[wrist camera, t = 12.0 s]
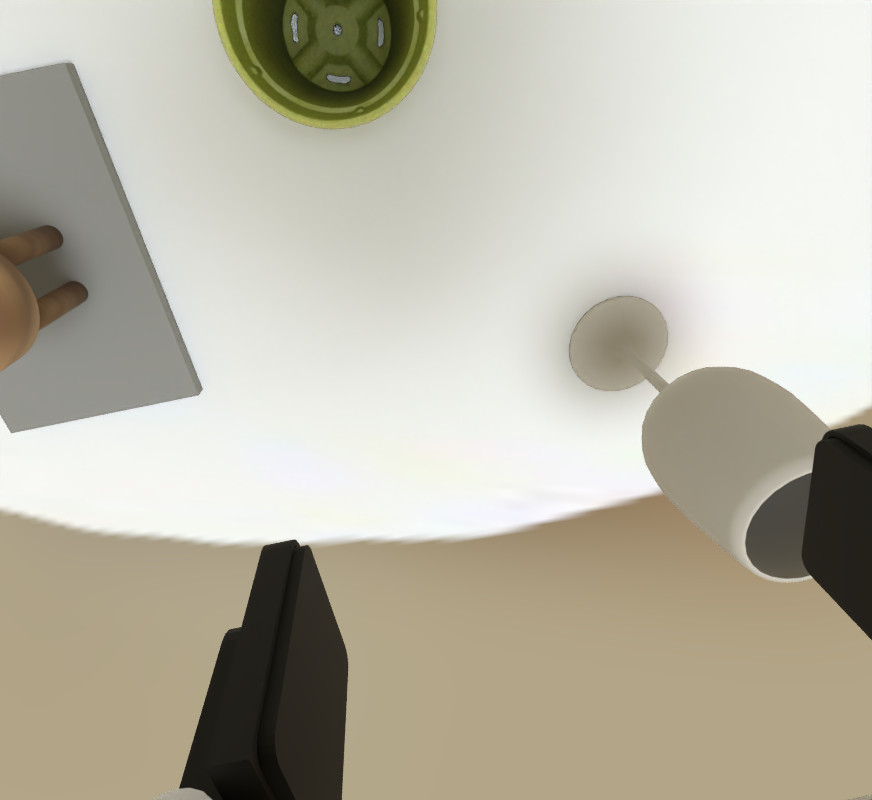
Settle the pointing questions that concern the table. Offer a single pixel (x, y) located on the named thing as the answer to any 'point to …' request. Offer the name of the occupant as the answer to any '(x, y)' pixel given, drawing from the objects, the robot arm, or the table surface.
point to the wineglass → (711, 438)
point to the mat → (80, 265)
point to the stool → (29, 293)
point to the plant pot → (328, 54)
